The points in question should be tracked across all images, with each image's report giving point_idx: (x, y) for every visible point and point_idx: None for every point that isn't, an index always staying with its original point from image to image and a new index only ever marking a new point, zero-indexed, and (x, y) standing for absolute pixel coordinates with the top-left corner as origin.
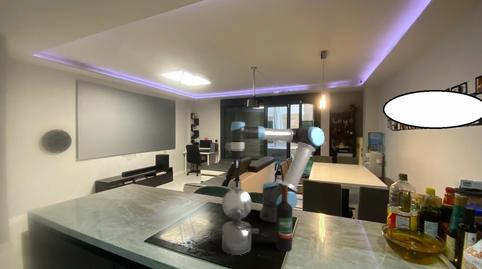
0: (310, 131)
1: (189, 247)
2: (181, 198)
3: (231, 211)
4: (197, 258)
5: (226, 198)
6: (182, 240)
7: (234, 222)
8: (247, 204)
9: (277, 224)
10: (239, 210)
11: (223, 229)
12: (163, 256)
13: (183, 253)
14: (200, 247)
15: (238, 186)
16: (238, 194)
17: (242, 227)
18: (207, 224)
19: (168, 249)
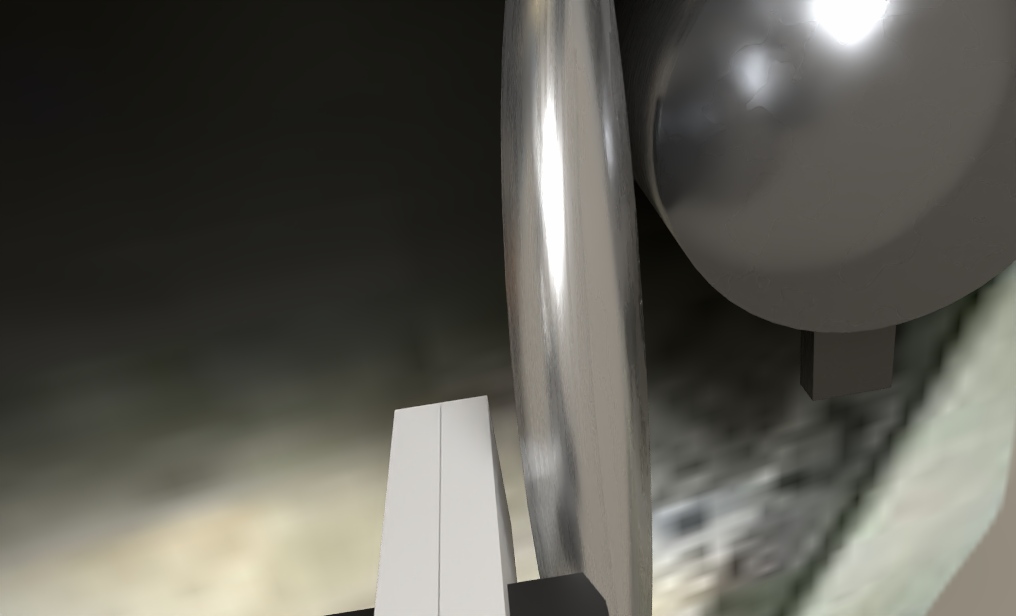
0: None
1: (772, 490)
2: None
3: (638, 323)
4: (944, 377)
5: (645, 579)
6: (658, 577)
7: (731, 192)
8: (599, 29)
9: None
10: (625, 184)
11: (966, 294)
12: (895, 596)
13: (863, 497)
14: (772, 410)
15: (509, 597)
16: (614, 394)
17: (923, 31)
18: (280, 497)
19: (802, 607)
